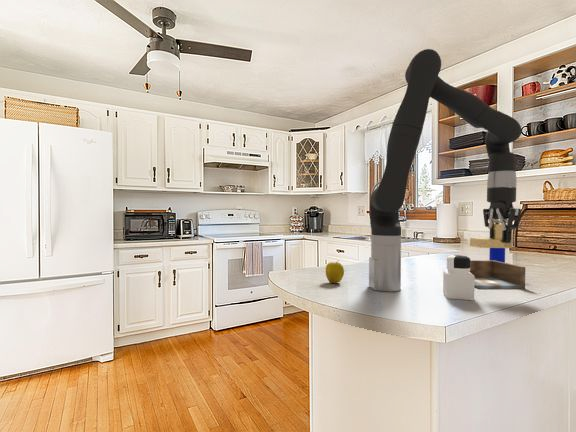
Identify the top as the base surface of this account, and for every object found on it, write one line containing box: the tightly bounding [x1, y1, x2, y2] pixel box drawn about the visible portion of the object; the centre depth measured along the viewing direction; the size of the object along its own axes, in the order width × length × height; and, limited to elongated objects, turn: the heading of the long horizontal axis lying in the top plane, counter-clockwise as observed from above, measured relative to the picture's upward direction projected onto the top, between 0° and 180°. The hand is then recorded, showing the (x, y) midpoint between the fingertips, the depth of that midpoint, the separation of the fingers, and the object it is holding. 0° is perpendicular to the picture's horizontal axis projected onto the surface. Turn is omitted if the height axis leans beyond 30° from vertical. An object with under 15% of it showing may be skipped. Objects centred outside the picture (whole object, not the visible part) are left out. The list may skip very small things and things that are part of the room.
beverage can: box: [488, 248, 506, 263], centre depth 126 cm, size 5×5×15 cm
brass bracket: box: [469, 223, 514, 249], centre depth 99 cm, size 10×5×7 cm, turn 92°
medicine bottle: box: [442, 254, 475, 301], centre depth 93 cm, size 7×7×12 cm
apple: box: [325, 260, 345, 284], centre depth 110 cm, size 6×6×8 cm
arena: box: [469, 259, 526, 290], centre depth 112 cm, size 16×15×7 cm
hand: (500, 241), depth 99 cm, fingers closed on brass bracket, 5 cm apart
